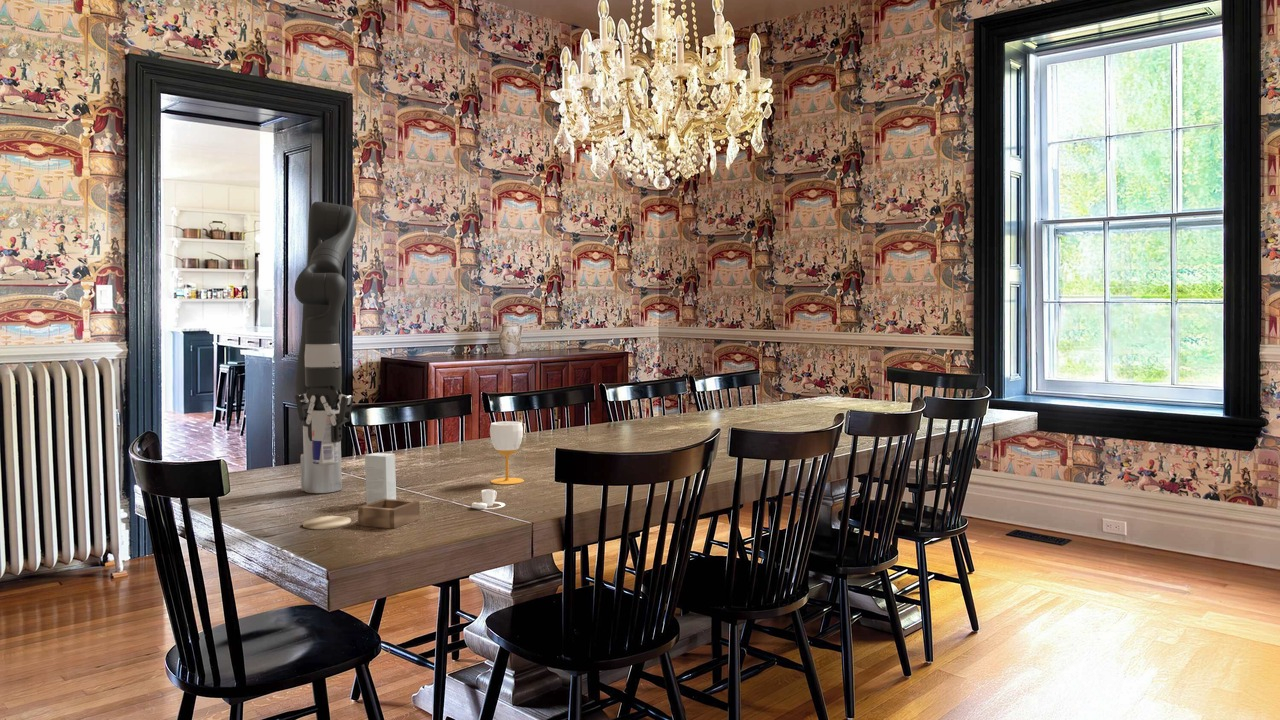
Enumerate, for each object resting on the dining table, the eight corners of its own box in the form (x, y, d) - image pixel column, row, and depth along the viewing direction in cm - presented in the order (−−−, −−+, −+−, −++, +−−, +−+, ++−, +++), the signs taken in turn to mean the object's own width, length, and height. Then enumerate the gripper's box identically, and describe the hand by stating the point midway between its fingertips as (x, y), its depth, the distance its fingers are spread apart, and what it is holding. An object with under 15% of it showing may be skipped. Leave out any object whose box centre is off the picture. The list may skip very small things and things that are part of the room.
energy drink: (316, 461, 202) (314, 408, 201) (341, 461, 202) (339, 407, 202) (309, 466, 197) (308, 411, 196) (335, 465, 197) (333, 410, 196)
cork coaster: (292, 527, 197) (292, 524, 197) (324, 517, 207) (324, 514, 207) (330, 530, 194) (330, 528, 194) (360, 520, 203) (360, 517, 203)
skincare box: (397, 502, 222) (395, 453, 222) (386, 505, 218) (385, 456, 218) (375, 500, 224) (374, 452, 224) (365, 504, 220) (364, 455, 220)
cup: (506, 477, 254) (506, 420, 253) (530, 480, 249) (530, 422, 248) (483, 482, 247) (482, 423, 246) (507, 486, 241) (506, 426, 240)
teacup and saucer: (476, 513, 212) (476, 495, 212) (463, 506, 218) (463, 490, 218) (510, 508, 217) (510, 491, 216) (496, 502, 223) (496, 486, 223)
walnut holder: (358, 525, 199) (357, 507, 199) (384, 515, 208) (384, 498, 207) (394, 528, 196) (394, 510, 195) (419, 518, 204) (419, 501, 204)
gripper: (284, 365, 197) (286, 442, 198) (338, 366, 192) (340, 445, 193) (308, 363, 204) (310, 437, 205) (361, 364, 199) (363, 440, 200)
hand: (325, 441), depth 199 cm, fingers closed on energy drink, 5 cm apart
